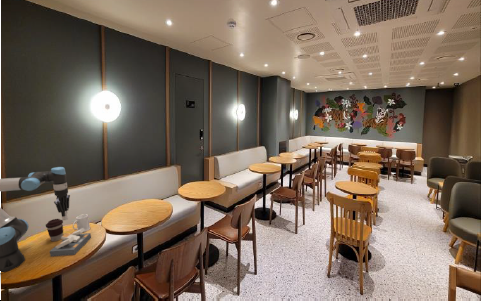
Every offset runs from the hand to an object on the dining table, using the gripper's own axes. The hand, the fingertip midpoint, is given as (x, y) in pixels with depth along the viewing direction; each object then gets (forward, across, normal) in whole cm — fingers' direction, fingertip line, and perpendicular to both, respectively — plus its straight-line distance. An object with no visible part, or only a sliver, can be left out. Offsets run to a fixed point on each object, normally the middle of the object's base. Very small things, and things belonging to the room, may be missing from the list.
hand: (65, 219), depth 158 cm
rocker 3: (+11, 0, -6) cm, 13 cm away
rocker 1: (+11, -12, -6) cm, 17 cm away
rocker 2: (+12, -6, -6) cm, 15 cm away
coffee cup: (+19, +6, +12) cm, 23 cm away
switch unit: (+18, -6, -6) cm, 20 cm away
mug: (+18, +16, 0) cm, 25 cm away
